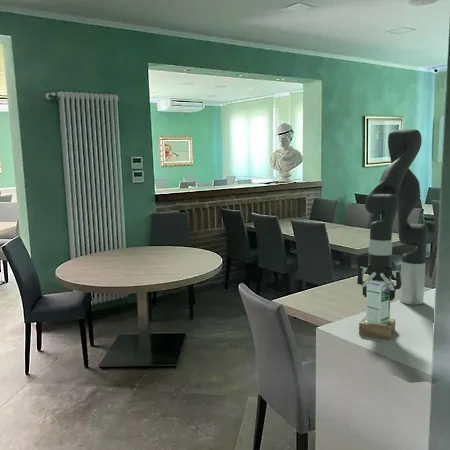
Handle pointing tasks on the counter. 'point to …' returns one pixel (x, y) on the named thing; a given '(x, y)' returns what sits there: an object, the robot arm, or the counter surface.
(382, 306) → the syrup box
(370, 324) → the plinth
